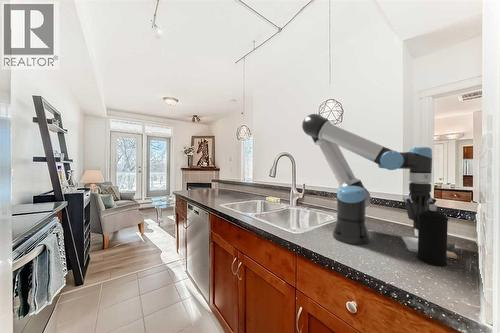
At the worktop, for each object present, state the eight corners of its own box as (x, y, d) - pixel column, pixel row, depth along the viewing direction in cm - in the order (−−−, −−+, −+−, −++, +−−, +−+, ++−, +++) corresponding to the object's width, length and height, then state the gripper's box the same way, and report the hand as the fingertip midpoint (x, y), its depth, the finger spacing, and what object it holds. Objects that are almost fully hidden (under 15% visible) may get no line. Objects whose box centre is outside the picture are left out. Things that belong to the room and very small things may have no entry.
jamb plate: (409, 250, 82) (409, 248, 82) (401, 238, 95) (401, 236, 95) (432, 254, 79) (432, 252, 78) (421, 241, 92) (421, 238, 92)
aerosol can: (454, 267, 69) (455, 207, 68) (426, 265, 70) (427, 206, 70) (436, 256, 77) (438, 202, 77) (411, 254, 79) (412, 202, 78)
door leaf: (432, 254, 79) (432, 245, 78) (421, 241, 92) (421, 233, 92) (459, 259, 75) (460, 249, 75) (444, 244, 88) (444, 236, 88)
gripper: (411, 183, 87) (410, 239, 88) (442, 183, 87) (441, 239, 87) (398, 181, 94) (397, 233, 95) (427, 181, 94) (426, 233, 95)
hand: (418, 236), depth 91 cm, fingers closed
